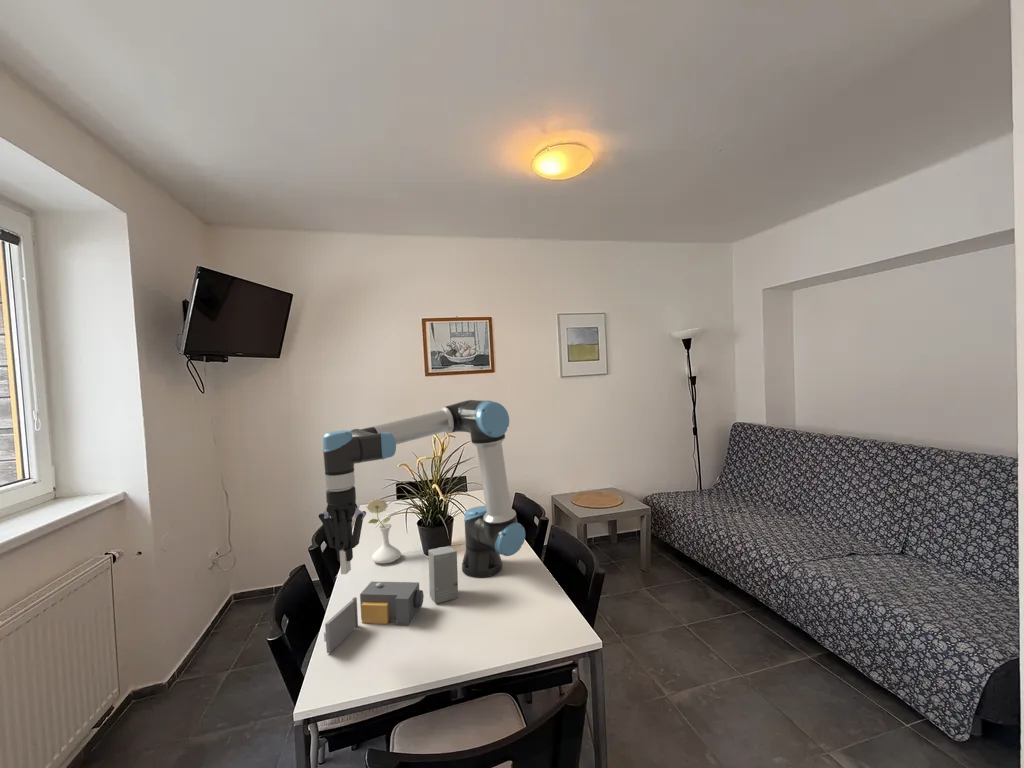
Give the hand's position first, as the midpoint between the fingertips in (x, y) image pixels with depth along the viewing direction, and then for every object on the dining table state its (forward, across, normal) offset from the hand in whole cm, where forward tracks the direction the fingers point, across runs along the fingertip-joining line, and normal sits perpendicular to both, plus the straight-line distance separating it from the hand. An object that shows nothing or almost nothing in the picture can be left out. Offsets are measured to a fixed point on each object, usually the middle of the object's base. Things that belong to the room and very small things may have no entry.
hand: (346, 571), depth 122 cm
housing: (+21, -6, -14) cm, 26 cm away
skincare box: (+21, -19, -27) cm, 39 cm away
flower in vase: (+21, +13, -54) cm, 59 cm away
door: (+20, +4, -2) cm, 21 cm away
